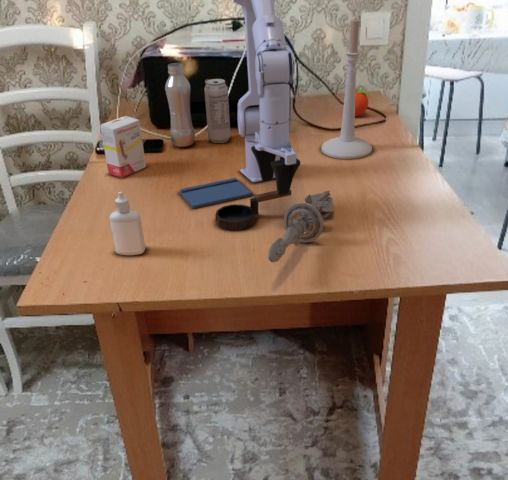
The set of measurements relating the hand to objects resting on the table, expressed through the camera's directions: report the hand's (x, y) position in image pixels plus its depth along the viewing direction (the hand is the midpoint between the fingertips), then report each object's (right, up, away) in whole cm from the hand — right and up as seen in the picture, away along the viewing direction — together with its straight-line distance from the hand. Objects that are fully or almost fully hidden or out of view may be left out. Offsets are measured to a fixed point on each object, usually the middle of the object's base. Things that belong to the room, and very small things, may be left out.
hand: (275, 187), depth 122 cm
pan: (-4, -6, +2) cm, 7 cm away
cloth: (-13, +1, +11) cm, 17 cm away
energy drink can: (-14, +23, +39) cm, 48 cm away
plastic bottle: (-23, +21, +37) cm, 48 cm away
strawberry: (+26, +35, +52) cm, 67 cm away
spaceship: (+5, -13, -7) cm, 15 cm away
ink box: (-36, +10, +24) cm, 44 cm away
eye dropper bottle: (-28, -15, -8) cm, 33 cm away
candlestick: (+19, +18, +31) cm, 40 cm away
